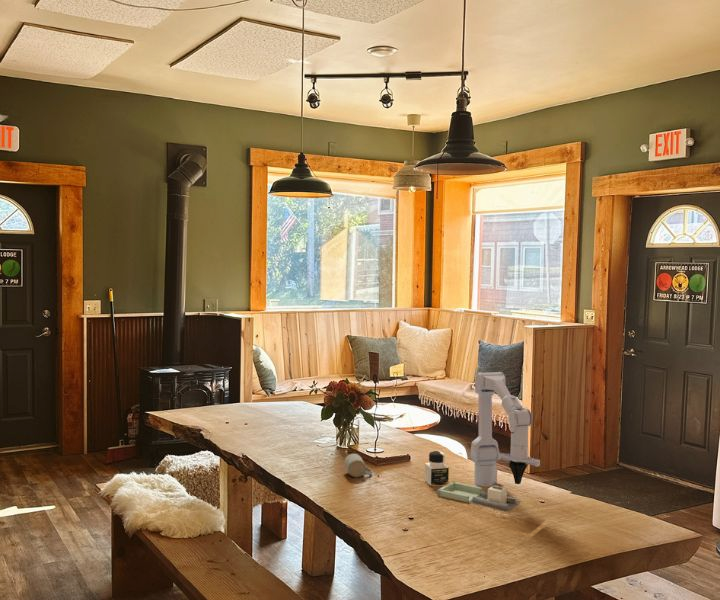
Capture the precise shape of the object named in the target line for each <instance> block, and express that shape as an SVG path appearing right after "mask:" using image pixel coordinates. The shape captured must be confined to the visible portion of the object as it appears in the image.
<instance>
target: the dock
mask: <svg viewBox="0 0 720 600" xmlns="http://www.w3.org/2000/svg"><path fill="white" fill-rule="evenodd" d="M467 503H468V504H471V505H478V506H481V507H487V508H490V509H494V510H500V511H504V512H509V511H510V510H512V509H513V508H514V507H516V506H517V505H519V504H520V503H521V501H520V500H517V498H516V497H511V496H507V502H506V503H501V502H497V501H492V500H488V491H483V490H482V492H481V494H480V495H478V496H477V497H472V500H470V501H468V502H467Z"/></svg>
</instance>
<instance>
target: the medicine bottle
mask: <svg viewBox="0 0 720 600" xmlns="http://www.w3.org/2000/svg"><path fill="white" fill-rule="evenodd" d="M428 454H429V455H428V462H425V463H424V482H425V483H427V484H428V485H429V486H430V487H440V485H443V486H445V485H447V484H449V474H450V473H449V470H450V467H449V466H448V465H446V454H445V452H443V451H440V450H434V451H433V450H432V451H430V452H429V453H428Z"/></svg>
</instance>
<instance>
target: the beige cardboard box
mask: <svg viewBox="0 0 720 600" xmlns="http://www.w3.org/2000/svg"><path fill="white" fill-rule="evenodd" d="M487 492H488V500H492V501H497V502H501V503H506V502H507V495H508V489H507V487H502V486H498V485H492V486H489V488H487Z"/></svg>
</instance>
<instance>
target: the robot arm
mask: <svg viewBox="0 0 720 600" xmlns="http://www.w3.org/2000/svg"><path fill="white" fill-rule="evenodd" d="M506 380H507V379H506V376H505V373H503V371H498V372H496V371H495V372H494V371H493V372H477V374H476V375H475V377H474V389H475V390H474V391H475V392H474V393H475V394H477V395H478V409H477V411H478V413H477V414H478V415H477V417H478V436H477V437H476V438H474V440H473V441H471V445H470V446H471V447H470V451H469V455H470V459H471V461H472V462H473V463H474V477H473V478H474V479H473V481H474V482H473V483H474V485H475V486H477V487H492V486H494V485H495V484H497V485H499V484H500V482H498V465H497V462H498V461H501V460H503V461H509V463H508V467H509V468H510V470H511V473H512V475H513V480H514V484H515V485H520V484H522V481H523V477H524V473H525V471H526V469H527V467H528V466H533V467H537V468H538V467H540V466H541V460H540V459H537V458H533V457H531V456H528V451H529V450H528V449H529V447H528V446H529V445H528V443H529V427H530V426H531V425H532V421H533V415H532V412H531V411H530V409H529V408H526V407H523V406H522V404H521V402H520V401H519V400H518V398H517V397H516V396H515V395H513V394H512V395H511V393H510V391H509V389H508V387H507V385H506ZM495 393H496V394H497V396H498V398H500V399H501V407H502V408H503V409H504V411H505V413H506V414H507V417H508V418H507V419H508V423H509V431H510V452H509V453H505V452H503V453H502V452H500V449H499V444H498V441H497V440H496V439H495V438H493V416H492V415H493V409H492V407H493V404H492V403H493V396H494V394H495Z"/></svg>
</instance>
